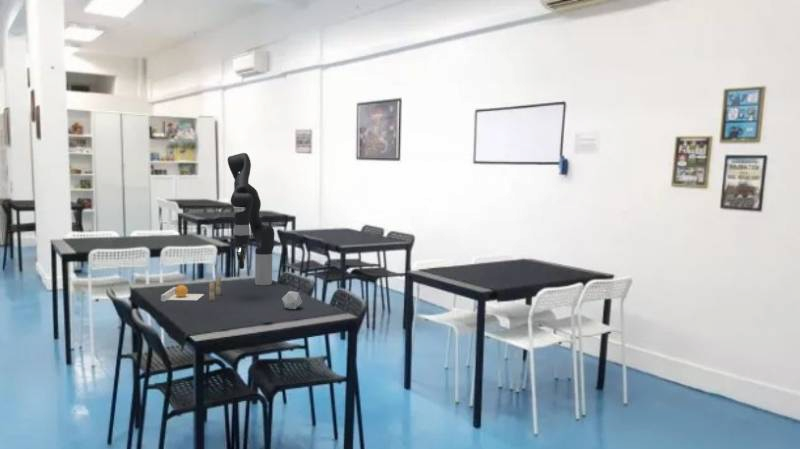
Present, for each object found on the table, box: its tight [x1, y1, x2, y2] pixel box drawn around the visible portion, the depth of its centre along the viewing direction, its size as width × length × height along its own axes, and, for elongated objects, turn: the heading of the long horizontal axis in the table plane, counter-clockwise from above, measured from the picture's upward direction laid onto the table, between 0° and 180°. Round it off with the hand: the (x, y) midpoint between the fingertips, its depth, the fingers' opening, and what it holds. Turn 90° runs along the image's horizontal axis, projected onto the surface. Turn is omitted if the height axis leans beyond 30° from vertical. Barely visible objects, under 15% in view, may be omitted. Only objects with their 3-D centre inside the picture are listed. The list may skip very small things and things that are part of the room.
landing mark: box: [167, 293, 205, 301], centre depth 297 cm, size 14×14×1 cm
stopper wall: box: [160, 286, 177, 302], centre depth 296 cm, size 20×2×3 cm, turn 4°
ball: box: [175, 284, 189, 297], centre depth 297 cm, size 6×6×6 cm
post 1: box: [208, 281, 216, 302], centre depth 291 cm, size 2×2×9 cm
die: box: [281, 290, 303, 311], centre depth 280 cm, size 8×9×10 cm
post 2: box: [215, 276, 222, 296], centre depth 304 cm, size 2×2×9 cm
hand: (241, 268), depth 297 cm, fingers closed
